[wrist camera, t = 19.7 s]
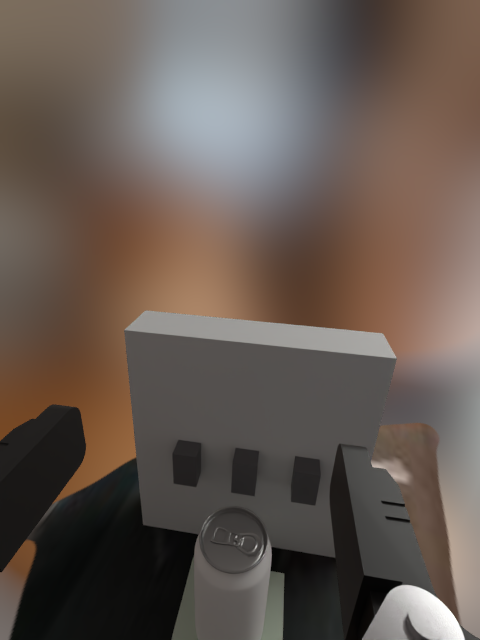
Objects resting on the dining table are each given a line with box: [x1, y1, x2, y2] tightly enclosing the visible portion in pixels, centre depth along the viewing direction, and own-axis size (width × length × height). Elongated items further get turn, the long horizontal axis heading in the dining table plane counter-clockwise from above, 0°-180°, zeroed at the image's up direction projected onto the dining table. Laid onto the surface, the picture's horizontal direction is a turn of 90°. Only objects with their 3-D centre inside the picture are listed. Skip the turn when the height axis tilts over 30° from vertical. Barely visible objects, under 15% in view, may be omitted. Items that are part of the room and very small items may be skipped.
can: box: [194, 506, 272, 640], centre depth 30 cm, size 6×6×12 cm
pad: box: [171, 557, 284, 640], centre depth 33 cm, size 10×10×1 cm
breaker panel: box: [124, 311, 397, 558], centre depth 37 cm, size 7×24×26 cm, turn 82°
